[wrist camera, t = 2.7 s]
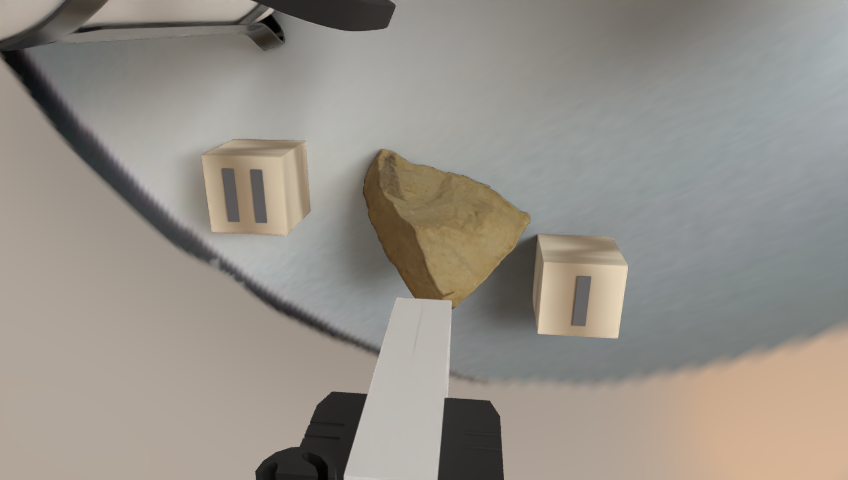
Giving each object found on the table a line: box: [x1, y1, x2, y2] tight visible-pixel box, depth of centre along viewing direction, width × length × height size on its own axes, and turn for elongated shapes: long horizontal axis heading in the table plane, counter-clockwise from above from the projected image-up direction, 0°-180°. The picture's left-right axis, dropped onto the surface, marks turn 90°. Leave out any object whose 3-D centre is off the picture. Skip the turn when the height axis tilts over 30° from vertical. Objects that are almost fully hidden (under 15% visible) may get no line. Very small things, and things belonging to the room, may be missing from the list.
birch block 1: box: [201, 139, 310, 235], centre depth 38 cm, size 5×5×5 cm
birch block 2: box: [532, 234, 628, 338], centre depth 38 cm, size 5×5×5 cm
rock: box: [363, 149, 530, 309], centre depth 36 cm, size 11×9×10 cm
